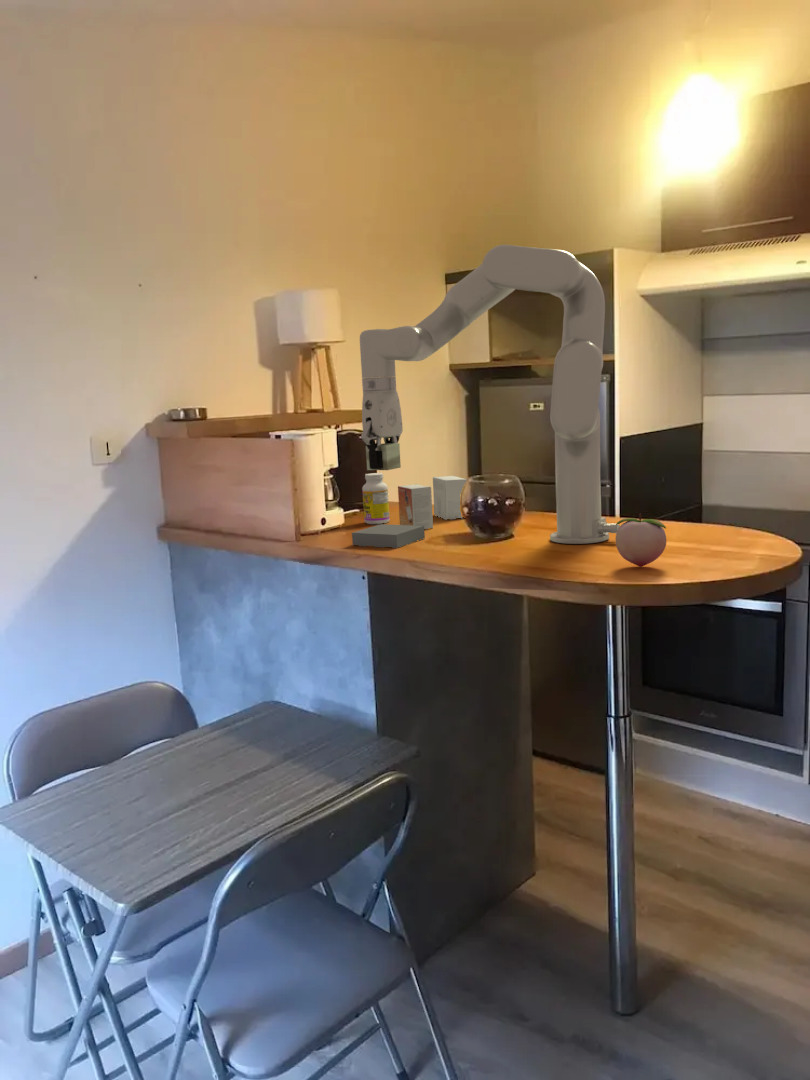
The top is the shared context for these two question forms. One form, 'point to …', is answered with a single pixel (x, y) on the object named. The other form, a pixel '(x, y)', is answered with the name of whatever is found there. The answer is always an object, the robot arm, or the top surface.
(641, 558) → the decorative fruit
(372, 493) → the supplement bottle
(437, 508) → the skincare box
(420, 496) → the small box
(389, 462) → the cube
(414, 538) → the plinth
